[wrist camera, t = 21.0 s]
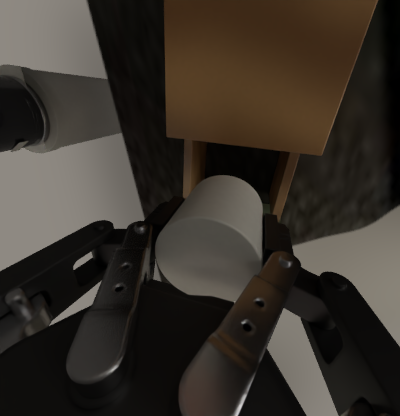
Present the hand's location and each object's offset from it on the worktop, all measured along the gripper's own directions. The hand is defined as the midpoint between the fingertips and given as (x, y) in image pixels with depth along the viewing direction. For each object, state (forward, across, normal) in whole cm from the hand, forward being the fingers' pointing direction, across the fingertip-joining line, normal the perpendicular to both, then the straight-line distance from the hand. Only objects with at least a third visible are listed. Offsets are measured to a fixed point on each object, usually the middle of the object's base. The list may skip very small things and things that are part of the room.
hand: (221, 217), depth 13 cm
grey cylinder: (+1, 0, 0) cm, 1 cm away
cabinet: (+15, 0, -11) cm, 19 cm away
